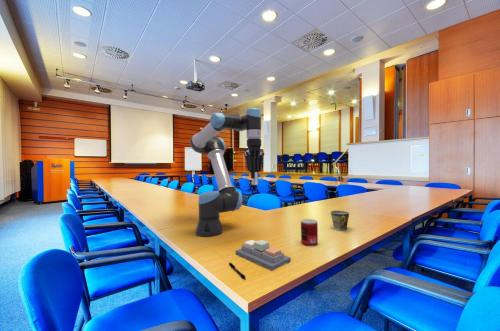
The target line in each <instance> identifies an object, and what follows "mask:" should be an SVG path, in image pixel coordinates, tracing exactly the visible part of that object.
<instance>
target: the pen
mask: <svg viewBox="0 0 500 331" xmlns="http://www.w3.org/2000/svg"><path fill="white" fill-rule="evenodd" d="M228 266H230V267H231V269H232V270H234V272H236V273H237V275H239V276H240V278H241V279H243V280H244V281H245V280H247V279H246V275H245V274H243V273H242V272H241V271H239V269H238V268H237V267H236V266H235V265H234V264H233V262H229V261H228Z"/></svg>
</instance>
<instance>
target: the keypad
mask: <svg viewBox="0 0 500 331" xmlns="http://www.w3.org/2000/svg"><path fill="white" fill-rule="evenodd" d="M235 255H237V256H240V257H242V258H243V259H245V260H247V261H250V262H252V263H255V264H256V265H259V266H261V267H263V268H266V269H268V270H270V271H274V270H277V269H278V268H280V267H282V266H284V265H286V264H288V263H290V262H291V256H287V255H285V253H284V252H282V251H281V254H280V255H278V256H275V257H272V256H269V255H267V254H265V250H264V251H260V250H257V249H255V248H249V247H246V246H244V243H243V244H241V247H240V248H239V249H237V250H235Z"/></svg>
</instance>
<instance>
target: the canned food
mask: <svg viewBox="0 0 500 331" xmlns="http://www.w3.org/2000/svg"><path fill="white" fill-rule="evenodd" d="M318 229H319V228H318V220H316V219H312V218H304V219H301V220H300V238H301V239H300V240H301V244H302V245H304V246H306V247H314V246H317V245H318V242H319V238H318V234H319V233H318V232H319V230H318Z"/></svg>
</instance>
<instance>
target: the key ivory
mask: <svg viewBox="0 0 500 331" xmlns="http://www.w3.org/2000/svg"><path fill="white" fill-rule="evenodd" d="M256 241H257V240H253V239H250V240H247V241H244V242H243V244H244V246H246V247H249V248H254V242H256Z"/></svg>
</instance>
